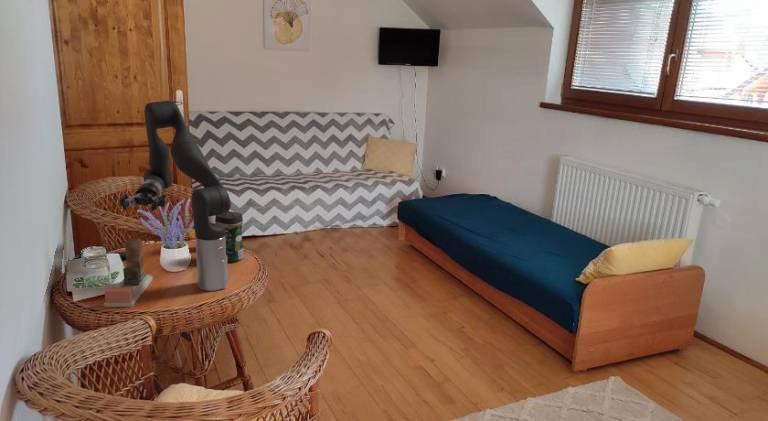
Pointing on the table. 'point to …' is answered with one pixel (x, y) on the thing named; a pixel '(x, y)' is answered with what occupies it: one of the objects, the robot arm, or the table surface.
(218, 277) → the robot arm
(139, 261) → the chain block
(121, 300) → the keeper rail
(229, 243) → the coffee jar
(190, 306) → the table surface
